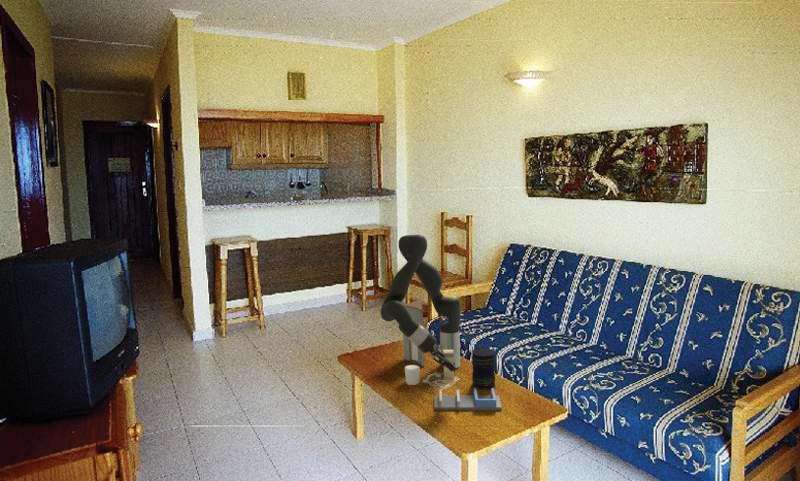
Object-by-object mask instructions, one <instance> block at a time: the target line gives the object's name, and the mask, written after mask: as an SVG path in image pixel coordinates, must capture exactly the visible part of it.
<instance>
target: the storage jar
mask: <svg viewBox="0 0 800 481" xmlns="http://www.w3.org/2000/svg"><path fill="white" fill-rule="evenodd" d="M480 344H481V342H477V345H480ZM495 354H496V352H495V350H494V349H493V348H487V347H478V348H474V349H472V350H471V364H472V374H471V380H472V386H473V387H474V388H476V389H477V390H491V388H495V387H496V383H495V382H496V372H495V365H496V357H495Z"/></svg>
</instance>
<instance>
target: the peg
mask: <svg viewBox="0 0 800 481" xmlns="http://www.w3.org/2000/svg"><path fill="white" fill-rule="evenodd" d="M443 354H444V355H445V358H446V359H447V360H448V361H449V362H450V363H451V364H452V365H454V354H453V350H443ZM443 362H444V361H443ZM443 383H455V370H454V371H453V372H451V371H450V370H449V369H448V368H447V367H446V366H444V368H443Z"/></svg>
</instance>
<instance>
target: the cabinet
mask: <svg viewBox="0 0 800 481" xmlns="http://www.w3.org/2000/svg"><path fill="white" fill-rule="evenodd" d="M403 305H404V307H405V308H406V309H407V311H408V312H409V314H410V315H411V317H412V318H413V319H414V320H416V321H417V322H418V323H419V324H420V325H421V326H423V327H424V320H423V316H424V315H423V303H422V298H418V299H417V300H415V301H410V302H408V303H405V304H403ZM402 335H403V340H402V341H403V361H406V362H407V361H408V362H411V363H413V364H416V365H419V366H420V368H423V367H425V353H423V352H422V351H421V350H420V349H419V348H418V347H417V346H416V345H414V344H413V343H412V342H411V341H410V339H409V338H408V337H407V336H406V335H404V334H403V333H402Z"/></svg>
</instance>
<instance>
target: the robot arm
mask: <svg viewBox="0 0 800 481" xmlns="http://www.w3.org/2000/svg"><path fill="white" fill-rule="evenodd" d="M398 250H399V252H400V254H401V256H403V257H402V258H404V260H406V263H405V264H404V265H403V266H402V268H400V269H399V270H398V271H397V272H396V274H395V275H394V277H393V280H392V282H391V284H390V288H389V291H388V293H387V295H386V297H385V299H384V300H383V303H382V305H381V307H380V316H381V318H382V320H384V321H386V322H392V321H394V320H395V322H397V324H398V329H399V331H400V332H401V333H402V335H403V334H404V335H406V336H407V337H408V338H409V339H410V341H411V342H412V343H413V344H414V345H416V346H417V347H418V348H419V349H420V350H421V351H422V352H423V353H424V354H427V353H428V352H429V354H430V355H431V356H432V359H433V360H434V361H435V362H436V363H438V364H439V365H440V366H441V367H442V368H443V369H444V366H446V367H447V368H448V369H449V370H450V371H451V372H453V371H454V372H455V370H456V369H457V368H460V366H461V349H460V348H461V346H460V345H461V344H460V343H461V342H460V341H461V340H460V338H461V337H460V327H461V311H462V310H461V309H462V308H461V307H462V306H461V301H460V299H458V298H457V297H456V298H455V297H451V296H450V297H449V296H445V295H444V294H443V293H442V291H441V288H442V285H443V278H442V276H441V274H440V272H439V270H438V268H437V267H436V266H435V265H434V264H432V263H431V262H429V261H428V260H427V259H425V258H424V257H425V255H426V252H427V250H428V241H427V238H426V236H424V235H423V234H407V235H403V236H401V237H400V238H399V240H398ZM414 275H416V276H417V277H418V280H419V281H420V283H421V286H422V287H423V288H424V289H425V291H426V293H427V295H428V296H429V299H430V300H431V302H432V303H431V304H432V306H433V308H434V310H435V312H436V313H437V314H438V315H439V316H441V317H448V321H445V322H443V323H441V324H440V325H439V342H440V343H438V339H437V338H436V337H435V336H434V335H433V334H432V333H431V332H430V331H429V330H428V329H426V327H424V325H423V326H421V325H420V324H419V323H418V322H417V321H416V320H414V319H413V318H412V317H411V315H410V314H409V312H408V311H407V309H406V308H405V307H404V304H403V303H402V302H403V301H404V299H405V298H406V297H407V293H408V291H409V288H410V284H411V283H412V280H413V278H414ZM443 350H453V354H454V365H452V364H451V363H450V362H449V361H448V360H447V359H446V358H445V355H444V354H443ZM443 361H444V362H443Z"/></svg>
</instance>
